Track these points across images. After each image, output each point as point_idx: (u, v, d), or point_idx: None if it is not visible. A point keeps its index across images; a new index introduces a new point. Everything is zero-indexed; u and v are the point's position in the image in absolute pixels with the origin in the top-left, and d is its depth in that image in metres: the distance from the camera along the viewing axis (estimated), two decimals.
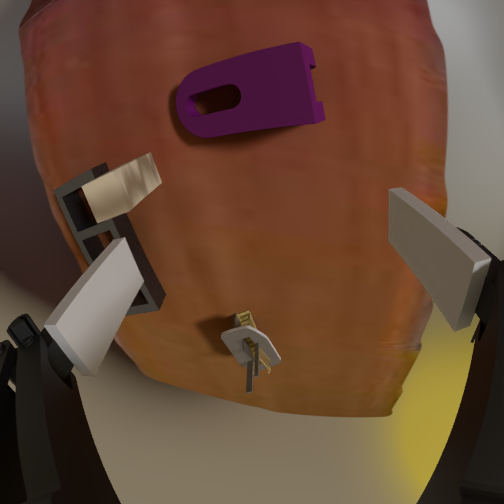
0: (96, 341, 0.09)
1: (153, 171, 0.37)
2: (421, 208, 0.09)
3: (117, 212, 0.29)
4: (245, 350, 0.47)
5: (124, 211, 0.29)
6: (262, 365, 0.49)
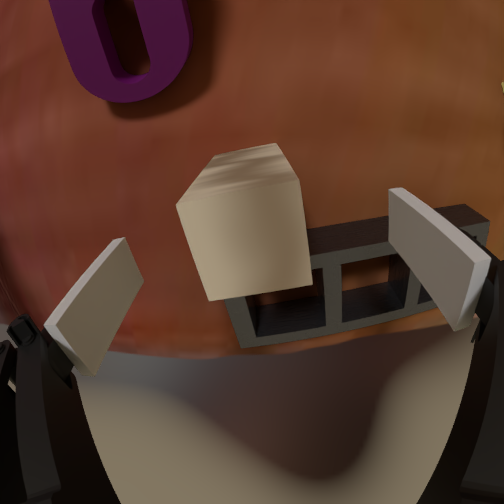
0: (96, 341, 0.09)
1: (248, 150, 0.20)
2: (421, 208, 0.09)
3: (295, 218, 0.11)
4: None
5: (297, 195, 0.11)
6: None
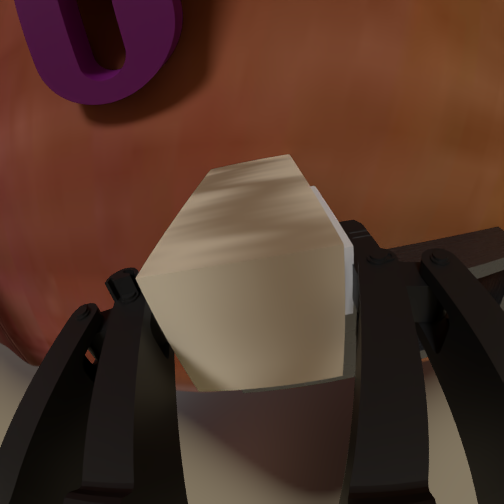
0: None
1: (253, 165, 0.15)
2: None
3: (331, 301, 0.07)
4: None
5: (337, 268, 0.06)
6: None
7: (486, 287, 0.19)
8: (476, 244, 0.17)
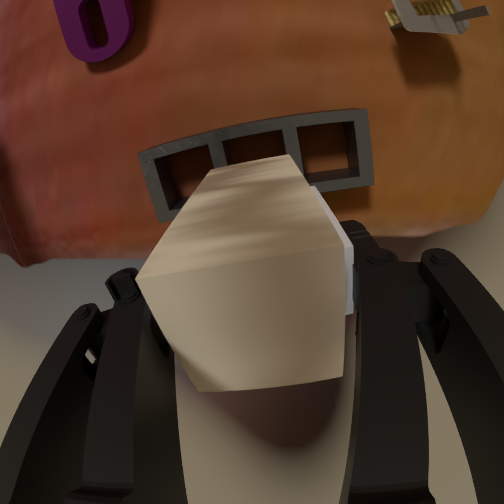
0: None
1: (253, 165, 0.15)
2: None
3: (331, 301, 0.07)
4: (434, 15, 0.17)
5: (337, 268, 0.06)
6: (458, 9, 0.15)
7: (350, 152, 0.30)
8: None
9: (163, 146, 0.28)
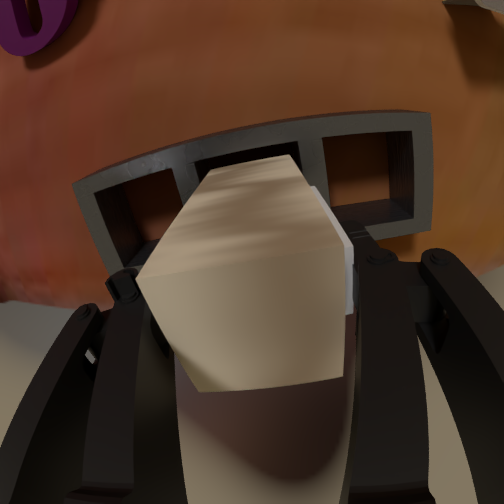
0: None
1: (253, 165, 0.15)
2: None
3: (331, 302, 0.07)
4: None
5: (337, 269, 0.06)
6: None
7: (398, 177, 0.19)
8: (354, 112, 0.17)
9: (105, 172, 0.17)
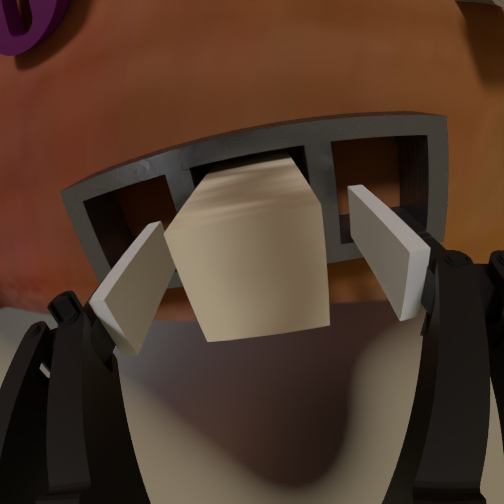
0: (139, 319, 0.10)
1: (253, 157, 0.17)
2: (372, 203, 0.10)
3: (314, 251, 0.09)
4: None
5: (317, 223, 0.08)
6: None
7: (410, 184, 0.17)
8: (364, 114, 0.15)
9: (94, 180, 0.15)
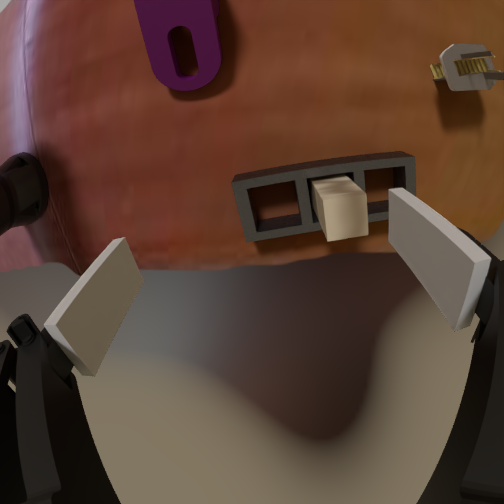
0: (96, 341, 0.09)
1: None
2: (421, 208, 0.09)
3: (364, 207, 0.29)
4: (471, 74, 0.23)
5: (365, 199, 0.28)
6: (489, 66, 0.21)
7: (398, 187, 0.37)
8: (377, 155, 0.35)
9: (256, 178, 0.35)
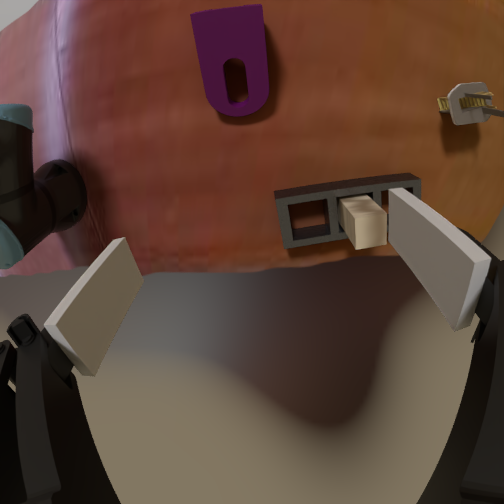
0: (96, 341, 0.09)
1: None
2: (421, 208, 0.09)
3: (384, 223, 0.36)
4: (472, 109, 0.31)
5: (385, 217, 0.36)
6: (487, 101, 0.29)
7: None
8: (391, 177, 0.43)
9: (296, 196, 0.43)
